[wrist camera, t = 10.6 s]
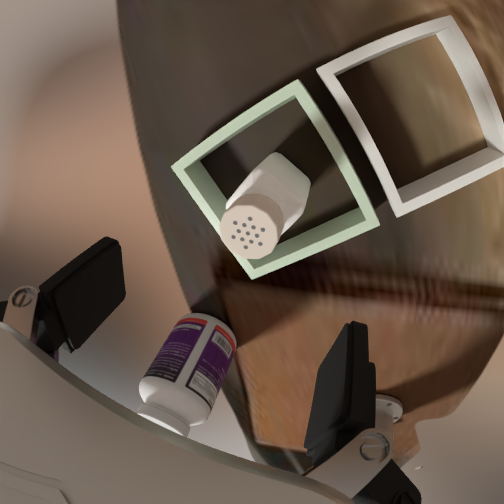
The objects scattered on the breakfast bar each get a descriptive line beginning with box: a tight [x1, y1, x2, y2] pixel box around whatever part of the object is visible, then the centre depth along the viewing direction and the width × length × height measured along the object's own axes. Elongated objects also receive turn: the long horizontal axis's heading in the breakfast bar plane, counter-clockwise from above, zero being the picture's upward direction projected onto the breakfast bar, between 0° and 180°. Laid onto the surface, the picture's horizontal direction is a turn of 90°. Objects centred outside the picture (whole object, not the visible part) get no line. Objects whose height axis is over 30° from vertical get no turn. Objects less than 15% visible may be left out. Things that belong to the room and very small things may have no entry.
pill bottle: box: [137, 313, 236, 437], centre depth 28 cm, size 8×8×14 cm
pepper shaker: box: [219, 152, 311, 259], centre depth 18 cm, size 4×4×10 cm
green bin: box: [171, 79, 380, 279], centre depth 21 cm, size 12×12×3 cm
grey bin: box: [316, 15, 504, 217], centre depth 15 cm, size 12×12×3 cm
